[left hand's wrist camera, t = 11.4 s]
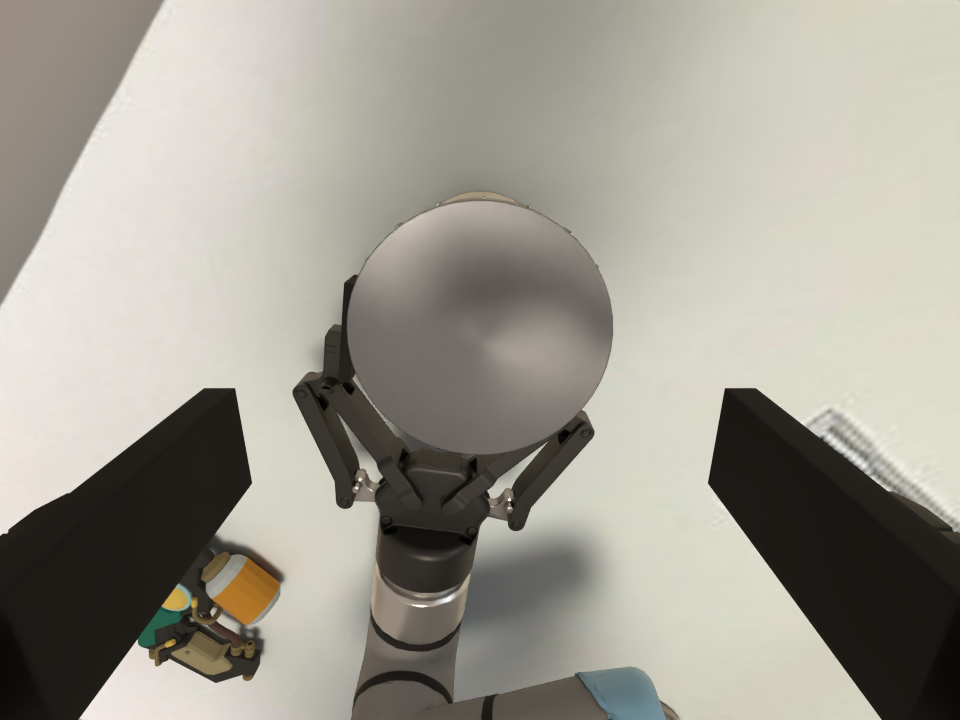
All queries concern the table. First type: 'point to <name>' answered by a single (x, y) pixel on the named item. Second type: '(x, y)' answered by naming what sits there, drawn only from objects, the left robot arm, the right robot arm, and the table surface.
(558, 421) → the lid
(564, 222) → the table surface
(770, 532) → the left robot arm
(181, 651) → the spray gun
